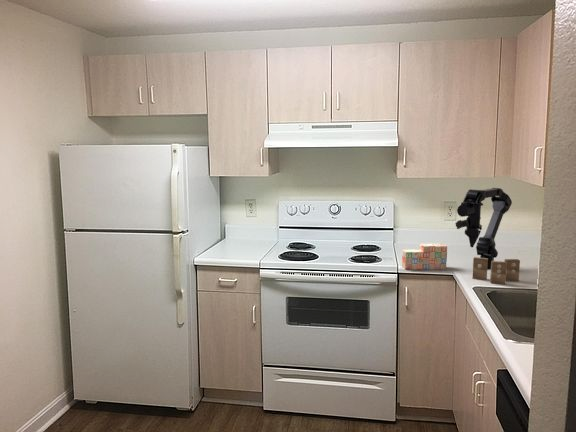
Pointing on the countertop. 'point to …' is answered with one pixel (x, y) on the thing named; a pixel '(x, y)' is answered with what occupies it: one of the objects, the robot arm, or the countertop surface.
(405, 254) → the stack of blocks
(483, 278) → the wooden block
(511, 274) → the tile two
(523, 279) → the countertop surface
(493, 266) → the light brown wooden block
